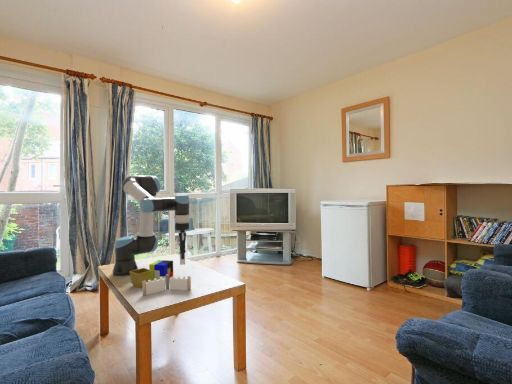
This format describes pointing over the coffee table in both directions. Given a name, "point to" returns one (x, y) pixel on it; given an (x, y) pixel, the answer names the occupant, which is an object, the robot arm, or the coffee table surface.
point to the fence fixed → (155, 285)
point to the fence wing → (180, 283)
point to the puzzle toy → (161, 269)
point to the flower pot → (140, 276)
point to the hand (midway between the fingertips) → (182, 264)
